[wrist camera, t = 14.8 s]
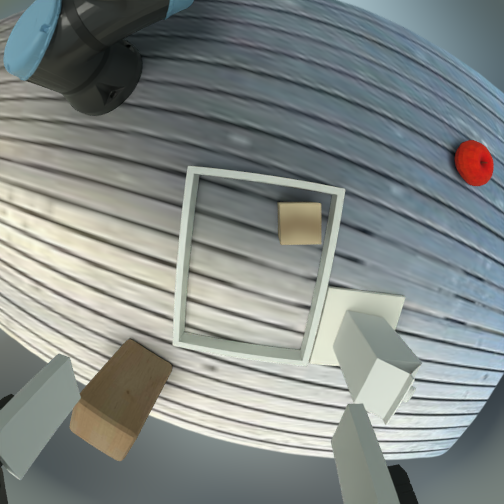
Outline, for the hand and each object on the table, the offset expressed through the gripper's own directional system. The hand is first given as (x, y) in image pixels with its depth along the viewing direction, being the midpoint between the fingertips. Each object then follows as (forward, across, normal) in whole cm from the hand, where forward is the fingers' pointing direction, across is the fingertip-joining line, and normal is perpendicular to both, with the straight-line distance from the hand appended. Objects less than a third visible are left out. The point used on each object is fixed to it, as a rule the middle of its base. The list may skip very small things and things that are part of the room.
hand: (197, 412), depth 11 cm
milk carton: (+32, +20, -11) cm, 39 cm away
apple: (+33, +36, +20) cm, 53 cm away
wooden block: (+33, -17, -25) cm, 45 cm away
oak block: (+33, +7, +6) cm, 34 cm away
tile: (+32, +20, -11) cm, 40 cm away
